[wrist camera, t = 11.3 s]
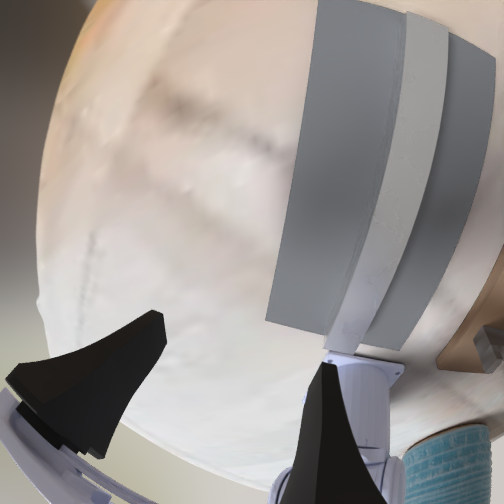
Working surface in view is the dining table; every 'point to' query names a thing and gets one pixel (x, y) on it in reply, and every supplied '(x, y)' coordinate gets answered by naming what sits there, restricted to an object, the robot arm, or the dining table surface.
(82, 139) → the dining table surface
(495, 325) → the rack
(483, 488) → the vase
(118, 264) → the dining table surface
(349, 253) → the mat
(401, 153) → the rail
